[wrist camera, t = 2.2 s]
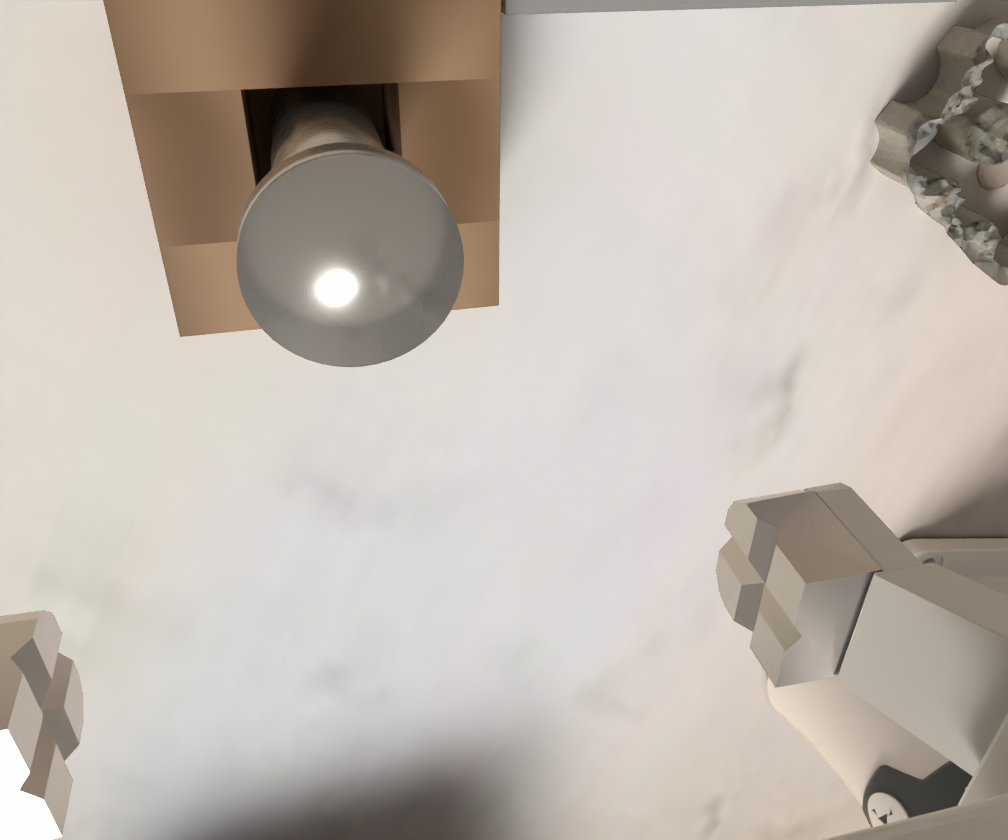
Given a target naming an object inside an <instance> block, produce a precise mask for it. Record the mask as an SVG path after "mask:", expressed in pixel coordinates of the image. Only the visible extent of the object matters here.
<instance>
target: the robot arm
mask: <svg viewBox="0 0 1008 840" xmlns="http://www.w3.org/2000/svg"><path fill="white" fill-rule="evenodd" d="M725 526H726V528H727V529H728V530H729V532H730V533H731V535H732V537H731V539H730V540H729V541H728V542H727V543H726V544H725V545H724V546H723V547H722V548H721V549H720V551H719V556H718V562H717V569H716V572H717V579H718V587H719V592H720V594H721V597H722V600H723V602H724V605H725V607H726V609H727V610H728V612H729V614H730V615H731V617H732V619H733V620H734V621H735V622H737V623H739V624H740V625H742V626H744V627H746V628H747V629H749V630H751V631H752V632H753V633H752V638H751V644H750V648H751V650H752V651H753V653H754V655H755V656H756V658H757V659H758V661H759V662H760V664H761V666H762V667H763V669H764V670H765V672H766V674H767V675H768V681H767V692H768V697H769V700H770V702H771V704H772V706H773V707H774V709H775V710H776V711H777V712H778V713H779V714H780V715H782V716H783V717H784V718H785V719H786V720H787V721H789V722H790V723H791V724H792V725H793V726H794V727H795V728H796V729H797V730H798V731H799V732H800V733H801V734H802V735H803V736H804V737H805V738H806V739H807V740H808V741H809V742H810V743H811V744H812V745H813V747H814V748H815V749H816V750H817V751H818V752H819V753H820V754H821V756H822V757H823V758H824V759H825V760H826V761H827V762H828V764H829V765H830V766H831V767H832V768H833V770H834V771H835V772H836V773H837V775H838V776H839V777H840V778H841V780H842V781H843V782H844V783H845V785H846V786H847V787H848V789H849V790H850V791H851V792H852V794H853V795H854V796H855V798H856V799H857V800H858V802H859V803H860V805H861V806H862V807H863V811H864V814H865V816H866V818H867V820H868V822H869V824H870V826H871V828H868V829H864V830H860V831H856V832H852V833H848V834H844V835H840V836H836V837H832V838H828V839H824V840H1008V538H985V539H910V540H906V541H904V542H901V541H900V540H899V539H898V538H897V537H896V536H895V534H894V533H893V532H892V531H891V530H890V529H889V528H888V527H887V526H886V525H885V524H884V523H883V522H882V520H881V519H880V518H879V517H878V516H877V515H876V514H875V513H874V512H873V511H872V510H871V509H870V508H869V506H868V505H867V504H866V503H865V502H864V501H863V500H862V499H861V498H860V497H859V496H858V495H857V494H856V493H855V491H854V490H853V489H852V488H850V487H849V486H847V485H845V484H842V483H836V484H830V485H824V486H818V487H813V488H807V489H805V490H797V491H791V492H785V493H779V494H773V495H767V496H761V497H755V498H749V499H743V500H737V501H734V502H733V504H732V505H731V506H730V508H729V509H728V513H727V517H726V521H725ZM61 636H62V632H61V630H60V628H59V625H58V623H57V621H56V619H55V617H54V615H53V613H52V612H48V611H45V610H43V611H35V612H28V613H21V614H13V615H6V616H0V840H50V839H54V838H58V837H62V833H63V828H64V823H65V818H66V813H67V808H68V802H69V797H70V792H71V787H72V782H73V779H72V777H71V775H70V773H69V770H68V768H67V766H66V764H65V760H66V759H67V758H68V756H69V755H70V754H71V753H72V752H73V751H74V750H75V749H76V748H77V746H78V745H79V744H80V738H81V732H82V726H83V692H82V687H81V682H80V677H79V674H78V671H77V669H76V666H75V664H74V661H73V660H71V659H69V658H68V657H66V656H64V655H62V654H60V653H58V650H59V645H60V641H61Z"/></svg>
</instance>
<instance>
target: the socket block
mask: <svg viewBox="0 0 1008 840" xmlns="http://www.w3.org/2000/svg"><path fill="white" fill-rule="evenodd" d="M103 1H104V6H105V10H106V14H107V19H108V23H109V28H110V32H111V36H112V41H113V45H114V49H115V54H116V58H117V63H118V67H119V71H120V76H121V80H122V84H123V89H124V93H125V98H126V102H127V106H128V111H129V115H130V119H131V124H132V128H133V133H134V137H135V141H136V146H137V150H138V154H139V159H140V163H141V168H142V172H143V176H144V181H145V185H146V189H147V194H148V198H149V202H150V207H151V211H152V216H153V220H154V224H155V229H156V233H157V237H158V242H159V246H160V251H161V255H162V259H163V264H164V268H165V272H166V277H167V281H168V286H169V290H170V294H171V299H172V303H173V307H174V312H175V316H176V321H177V325H178V329H179V334H180V337H183V336H193V335H204V334H214V333H224V332H234V331H244V330H254V329H262V328H261V327H260V326H259V324H258V323H257V322H256V320H255V319H254V318H253V316H252V314H251V313H250V311H249V309H248V308H247V306H246V303H245V301H244V298H243V296H242V294H241V290H240V286H239V282H238V277H237V267H236V261H237V237H238V229H239V223H240V219H241V216H242V213H243V210H244V207H245V205H246V203H247V201H248V199H249V197H250V195H251V193H252V192H253V190H254V189H255V188H256V186H257V185H258V184H259V182H260V181H261V180H262V179H263V178H264V177H265V176H266V175H267V174H268V173H269V172H270V171H271V153H270V134H269V108H270V104H271V101H272V98H273V96H274V94H275V92H276V91H277V89H278V88H289V87H311V86H334V85H353V86H354V87H355V88H356V89H357V91H358V92H359V93H360V95H361V97H362V99H363V100H364V103H365V105H366V107H367V110H368V112H369V115H370V117H371V119H372V122H373V124H374V126H375V129H376V131H377V133H378V136H379V138H380V140H381V143H382V145H383V148H384V149H386V150H388V151H391V152H393V153H396V154H398V155H400V156H401V157H403V158H405V159H406V160H408V161H410V162H411V163H412V164H414V165H415V166H416V167H418V168H419V169H420V170H421V171H422V172H423V173H424V174H425V175H426V176H427V177H428V178H429V179H430V180H431V181H432V182H433V183H434V185H435V186H436V187H437V189H438V190H439V191H440V193H441V195H442V197H443V199H444V200H445V202H446V204H447V206H448V208H449V210H450V212H451V213H452V215H453V217H454V219H455V221H456V224H457V227H458V229H459V232H460V236H461V240H462V244H463V253H464V271H463V278H462V283H461V287H460V290H459V293H458V296H457V299H456V301H455V303H454V305H453V307H452V309H451V310H457V309H467V308H478V307H488V306H498V305H499V205H500V70H501V0H103Z"/></svg>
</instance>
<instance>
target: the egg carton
mask: <svg viewBox="0 0 1008 840" xmlns="http://www.w3.org/2000/svg"><path fill="white" fill-rule="evenodd" d="M992 36H993V37H996V38H1000V39H1002V40H1001V42H1000V44H999V47H998V51H997V55H996V65H997V68H998V71H999V73H1000V74H1002V75H1003V76H1004V77H1006V78H1008V23H1002V22H1000V21H998V20H997V19H995V18H991V19H989V20H988V21H987V22H985V23H984V24H983V25H981V26H979V27H976V28H970V29H968V28H965V27H961V26H957V25H954V26H953V27H952V28H951V29H950V30H949V31H948V32H947V34H946V35H945V36H944V38H943V39H942V40H941V41H940V42H939V44H938V45H937V51H938V53H939V56H940V61H941V66H940V72H939V75H938V78H937V80H936V82H935V84H934V86H933V88H932V89H931V90H930V91H929V92H928V93H927V94H926V95H925V96H924V97H922V98H921V99H919V100H917V101H914V102H911V103H900V102H897V101H891V102H890V103H889V104H888V105H887V107H886V108H885V109H884V110H883V112H882V113H881V114H880V115H879V116H878V117H877V119H876V120H875V124H876V126H877V127H878V131H879V144H878V147H877V150H876V152H875V154H874V156H873V158H872V159H871V164H872V165H873V166H874V167H875V168H876V169H877V170H878V171H879V172H881V173H882V174H884V175H886V176H887V177H889V178H891V179H893V180H895V181H897V182H899V183H902V184H903V185H905V186H907V187H909V188H910V190H911V191H912V193H913V194H914V199H915V200H916V202H915V204H916V205H917V206H918V207H919V208H920V209H921V210H922V211H923V212H924V213H926V214H927V215H929V216H930V217H931V218H932V219H934V220H935V221H937V222H938V223H940V224H941V225H942V226H944V227H945V229H946V232H947V234H948V235H949V236H950V237H951V238H952V239H953V240H954V241H955V242H956V244H957V245H958V246H959V247H960V248H961V249H962V250H963V252H964V253H965V254H966V256H967V257H968V258H969V259H970V260H971V262H972V263H973V264H975V265H976V266H977V267H978V268H980V269H981V270H982V271H983V272H984V273H986V274H987V275H988V276H989V277H991V278H992V279H993V280H995V281H996V282H997V283H999V284H1001V285H1008V234H1007V235H1006V236H1005V237H1004V238H1003V239H1002V237H1001V236H1000V235H999V231H998V228H997V227H996V225H995V224H994V222H993V221H990V220H989V219H987V218H985V217H983V216H981V215H979V214H977V213H974V212H972V211H970V210H968V209H966V208H964V207H963V206H961V205H962V204H963V203H964V201H965V198H964V197H963V196H962V195H961V194H960V193H959V192H960V191H962V190H961V188H959V187H958V183H957V181H955V180H953V179H951V178H946V177H942V176H940V175H938V174H936V173H934V172H932V171H930V170H928V169H926V168H924V167H921V166H919V165H917V164H916V163H914V162H910V160H911V158H912V156H913V155H915V154H916V153H917V152H919V151H920V150H921V149H923V148H924V147H925V146H926V145H927V144H928V143H929V142H930V141H931V140H932V139H933V138H935V140H936V142H937V144H938V145H940V146H941V147H943V148H945V149H947V150H949V151H951V152H954V153H956V154H958V155H960V156H962V157H964V158H966V159H968V160H970V161H972V162H978V163H979V164H978V168H977V178H978V182H979V183H980V185H981V186H982V187H984V188H986V189H997V188H1000V187H1003V186H1005V185H1006V184H1008V104H1007V103H1003V102H999V101H996V100H994V99H991V98H988V97H985V96H982V95H979V94H976V92H975V88H976V87H977V86H978V85H980V84H981V83H982V81H983V76H982V70H983V69H984V67H986V66H988V65H989V64H991V63H993V58H992V57H991V55H990V54H989V53H988V51H987V50H986V48H985V44H986V42H987V40H988V39H990V38H991V37H992ZM1001 239H1002V240H1001ZM999 240H1000V241H999Z"/></svg>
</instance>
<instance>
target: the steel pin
mask: <svg viewBox="0 0 1008 840" xmlns="http://www.w3.org/2000/svg"><path fill="white" fill-rule="evenodd" d="M269 134H270V153H271V171H270V172H269V173H268V174H267V175H266V176H265V177H264V178H263V179H262V180H261V181H260V182H259V184H258V185H257V186H256V188H255V189H254V190H253V192H252V193H251V195H250V197H249V199H248V201H247V203H246V205H245V207H244V210H243V213H242V216H241V219H240V223H239V229H238V237H237V261H236V267H237V277H238V282H239V286H240V290H241V294H242V296H243V298H244V301H245V303H246V306H247V308H248V309H249V311H250V313H251V314H252V316H253V318H254V319H255V320H256V322H257V323H258V324H259V326H260V327H261V328H262V329H263V330H264V331H265V332H266V333H267V334H268V335H269V336H270V337H271V338H272V339H273V340H274V341H276V342H277V343H278V344H280V345H281V346H282V347H284V348H285V349H287V350H289V351H291V352H292V353H294V354H296V355H298V356H301V357H303V358H305V359H308V360H311V361H314V362H317V363H321V364H326V365H331V366H341V367H359V366H368V365H374V364H378V363H382V362H385V361H389V360H392V359H394V358H397V357H399V356H401V355H403V354H405V353H407V352H409V351H411V350H412V349H414V348H416V347H417V346H418V345H420V344H421V343H423V342H424V341H425V340H426V339H428V338H429V337H430V336H431V335H432V334H433V333H434V332H435V331H436V330H437V329H438V328H439V326H440V325H441V324H442V323H443V322H444V320H445V319H446V317H447V316H448V314H449V313H450V311H451V309H452V307H453V305H454V303H455V301H456V299H457V296H458V293H459V290H460V287H461V283H462V278H463V271H464V253H463V244H462V240H461V236H460V232H459V229H458V227H457V224H456V221H455V219H454V217H453V215H452V213H451V212H450V210H449V208H448V206H447V204H446V202H445V200H444V199H443V197H442V195H441V193H440V191H439V190H438V189H437V187H436V186H435V185H434V183H433V182H432V181H431V180H430V179H429V178H428V177H427V176H426V175H425V174H424V173H423V172H422V171H421V170H420V169H419V168H418V167H416V166H415V165H414V164H412V163H411V162H410V161H408V160H406V159H405V158H403V157H401V156H400V155H398V154H396V153H393V152H391V151H388V150H386V149H384V148H383V145H382V143H381V140H380V138H379V136H378V133H377V131H376V129H375V126H374V124H373V122H372V119H371V117H370V115H369V112H368V110H367V107H366V105H365V103H364V100H363V99H362V97H361V95H360V93H359V92H358V91H357V89H356V88H355V87H354V86H353V85H334V86H311V87H289V88H278V89H277V91H276V92H275V94H274V96H273V98H272V101H271V104H270V108H269Z"/></svg>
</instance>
